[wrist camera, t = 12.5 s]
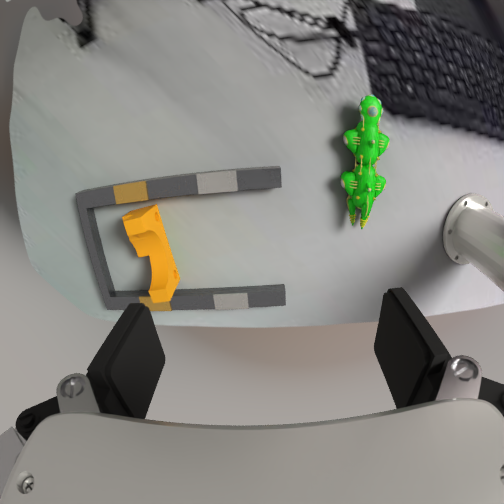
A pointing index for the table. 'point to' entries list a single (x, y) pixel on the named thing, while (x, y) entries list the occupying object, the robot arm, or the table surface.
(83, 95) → the table surface
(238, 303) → the rail frame
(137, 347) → the robot arm
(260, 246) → the table surface
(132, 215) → the pipe clamp
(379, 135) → the crocodile figurine
